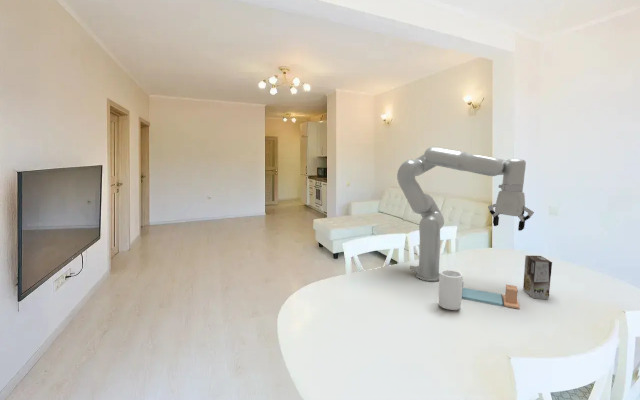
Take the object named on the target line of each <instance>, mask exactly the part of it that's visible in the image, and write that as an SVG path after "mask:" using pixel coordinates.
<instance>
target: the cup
mask: <svg viewBox="0 0 640 400" xmlns="http://www.w3.org/2000/svg"><path fill="white" fill-rule="evenodd" d="M439 273H440V278H439V282H438V305H439V306H440V307H442V308H443V309H447V310H453V311H457V310H459V309H461V307H462V300H463V299H462V288H464V281H463V280H464V279H463V274H462V273H461V272H460V271H457V270H452V269H443V270H440V271H439Z"/></svg>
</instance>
